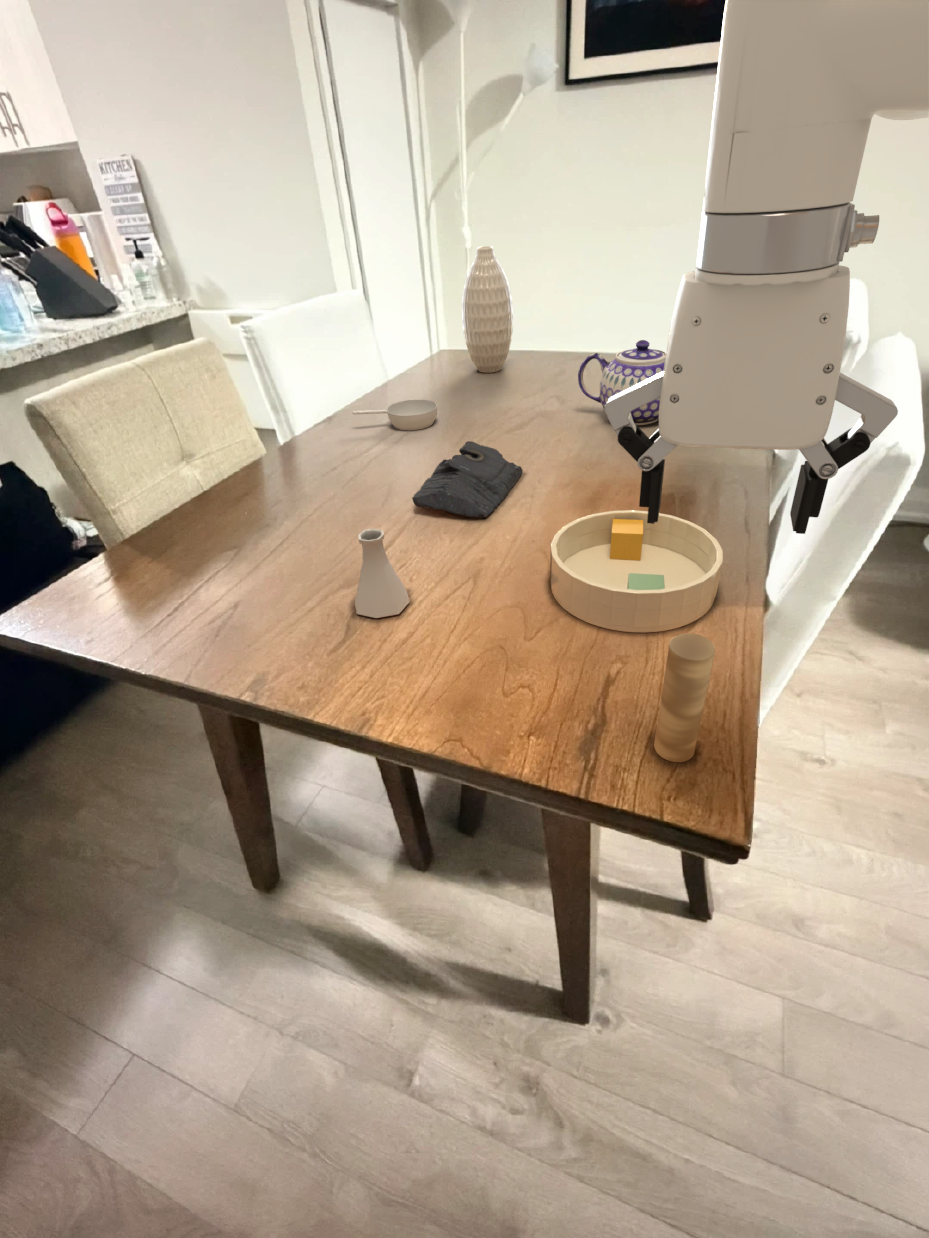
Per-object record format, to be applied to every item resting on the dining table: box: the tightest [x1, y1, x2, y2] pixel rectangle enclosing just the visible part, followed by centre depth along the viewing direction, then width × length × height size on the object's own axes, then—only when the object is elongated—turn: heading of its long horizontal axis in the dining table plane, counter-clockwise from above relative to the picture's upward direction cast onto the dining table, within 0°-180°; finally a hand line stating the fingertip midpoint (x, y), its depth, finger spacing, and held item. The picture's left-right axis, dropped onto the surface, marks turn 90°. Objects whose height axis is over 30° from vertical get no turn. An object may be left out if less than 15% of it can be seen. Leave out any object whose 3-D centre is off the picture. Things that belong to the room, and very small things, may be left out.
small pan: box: [351, 398, 438, 431], centre depth 137 cm, size 11×18×4 cm, turn 97°
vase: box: [461, 245, 514, 374], centre depth 161 cm, size 13×13×28 cm
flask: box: [354, 528, 411, 619], centre depth 80 cm, size 7×7×10 cm
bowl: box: [549, 509, 724, 634], centre depth 81 cm, size 20×20×6 cm
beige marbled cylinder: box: [653, 632, 716, 763], centre depth 56 cm, size 4×4×12 cm
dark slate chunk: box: [412, 440, 524, 519], centre depth 108 cm, size 15×22×5 cm
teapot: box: [577, 339, 666, 426], centre depth 128 cm, size 25×15×15 cm, turn 61°
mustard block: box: [610, 519, 643, 561], centre depth 86 cm, size 4×4×4 cm
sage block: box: [627, 573, 665, 590], centre depth 75 cm, size 4×4×4 cm
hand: (723, 519), depth 46 cm, fingers open, 9 cm apart
